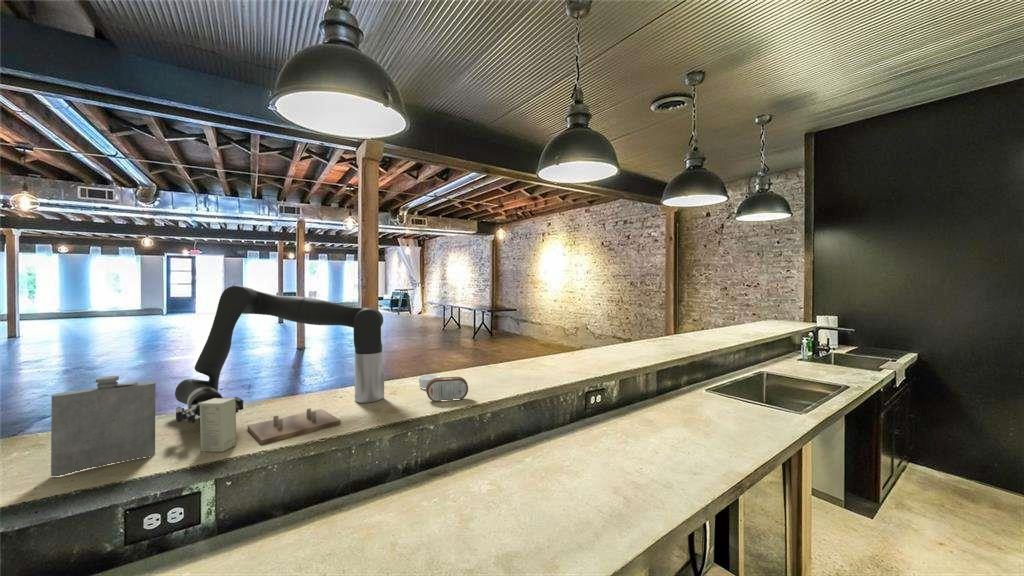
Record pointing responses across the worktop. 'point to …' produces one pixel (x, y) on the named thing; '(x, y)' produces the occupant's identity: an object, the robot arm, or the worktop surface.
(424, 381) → the ramekin
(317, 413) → the pin tray
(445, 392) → the tin
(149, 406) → the hip flask
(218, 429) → the skincare box
